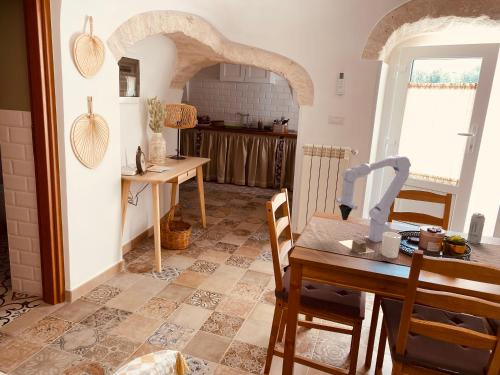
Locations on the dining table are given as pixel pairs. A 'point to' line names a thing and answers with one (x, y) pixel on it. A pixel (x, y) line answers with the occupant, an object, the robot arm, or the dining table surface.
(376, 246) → the dining table surface
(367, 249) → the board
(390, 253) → the white cup
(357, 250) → the block
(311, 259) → the dining table surface
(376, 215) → the robot arm
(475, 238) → the energy drink can
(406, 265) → the dining table surface
